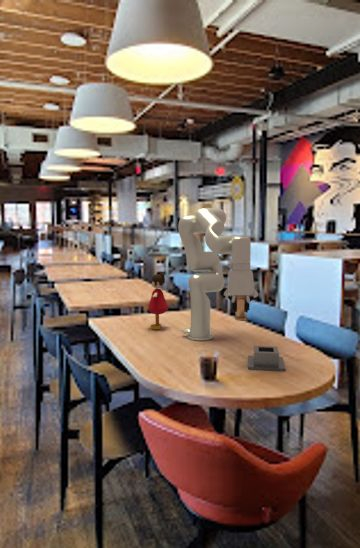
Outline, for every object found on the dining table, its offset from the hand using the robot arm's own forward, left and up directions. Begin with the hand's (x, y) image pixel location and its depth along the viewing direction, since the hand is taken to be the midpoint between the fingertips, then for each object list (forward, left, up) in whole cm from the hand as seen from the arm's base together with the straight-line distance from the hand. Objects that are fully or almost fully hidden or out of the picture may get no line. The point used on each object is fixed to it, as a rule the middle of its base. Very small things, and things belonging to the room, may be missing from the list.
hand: (240, 311), depth 172 cm
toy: (-44, +43, -20) cm, 65 cm away
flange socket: (+10, -6, -20) cm, 23 cm away
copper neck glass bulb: (0, 0, -3) cm, 3 cm away
